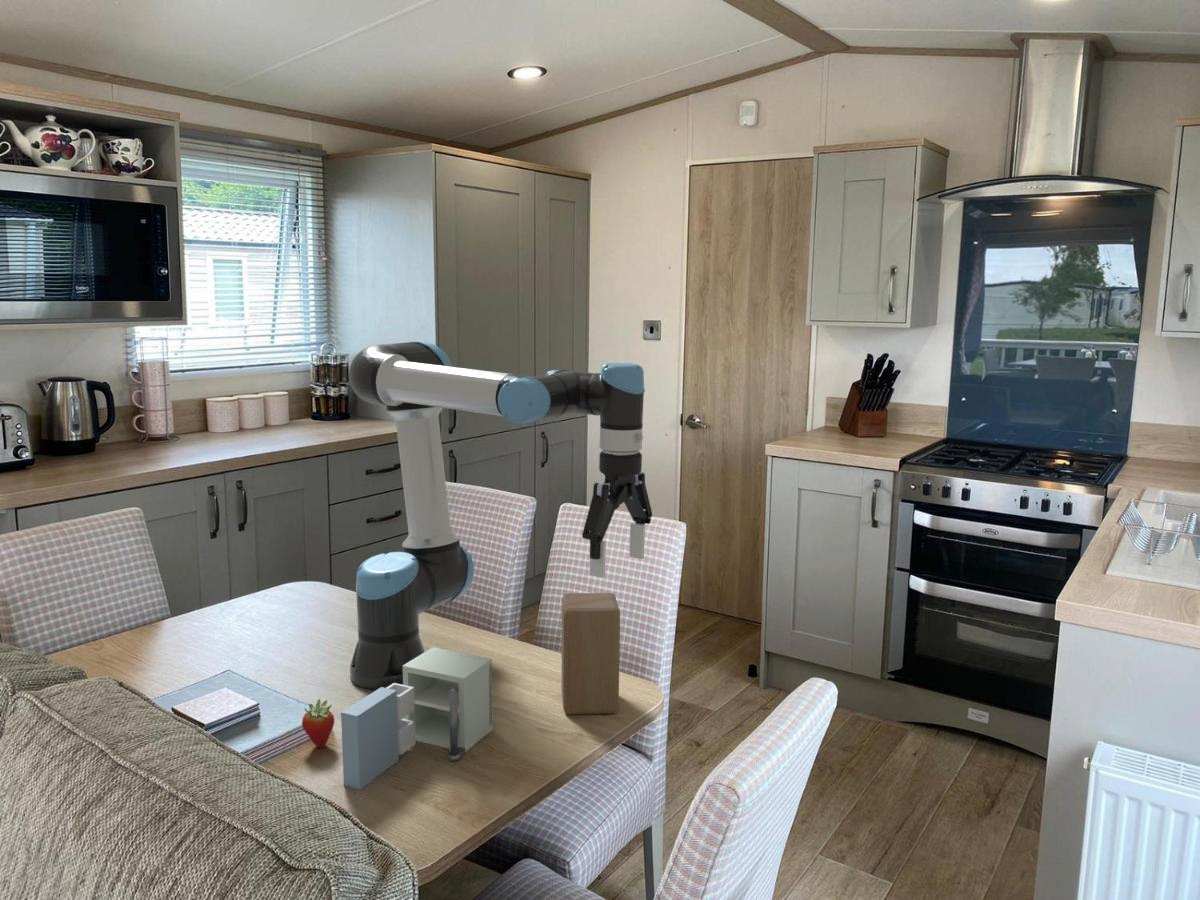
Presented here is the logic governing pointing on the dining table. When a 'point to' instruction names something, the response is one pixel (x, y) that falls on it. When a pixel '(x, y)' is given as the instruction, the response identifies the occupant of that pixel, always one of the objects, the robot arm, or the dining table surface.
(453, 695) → the hinge pin
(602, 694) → the wooden block
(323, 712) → the fruit
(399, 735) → the door
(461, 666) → the cabinet
